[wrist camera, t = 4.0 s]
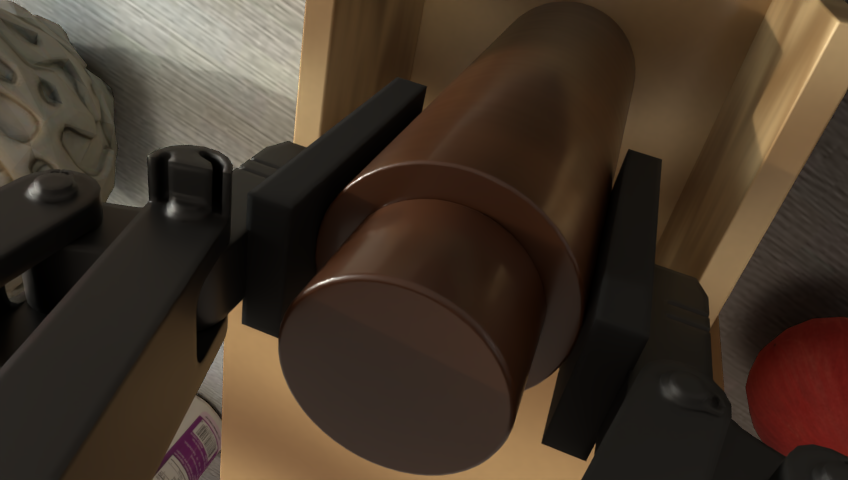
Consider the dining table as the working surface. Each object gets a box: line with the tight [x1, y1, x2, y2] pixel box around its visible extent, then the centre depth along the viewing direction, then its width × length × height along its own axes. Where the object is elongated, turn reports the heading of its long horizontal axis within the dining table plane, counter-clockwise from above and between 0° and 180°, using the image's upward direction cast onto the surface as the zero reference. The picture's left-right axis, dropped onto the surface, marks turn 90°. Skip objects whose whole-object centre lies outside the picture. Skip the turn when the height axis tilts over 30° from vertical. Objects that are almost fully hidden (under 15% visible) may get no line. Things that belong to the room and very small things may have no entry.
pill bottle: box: [153, 395, 222, 480], centre depth 39 cm, size 5×5×10 cm
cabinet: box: [220, 300, 724, 480], centre depth 27 cm, size 18×15×11 cm
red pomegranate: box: [746, 317, 848, 457], centre depth 23 cm, size 6×6×8 cm
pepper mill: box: [278, 1, 636, 476], centre depth 16 cm, size 5×5×16 cm
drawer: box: [293, 0, 848, 328], centre depth 19 cm, size 21×13×9 cm, turn 169°
